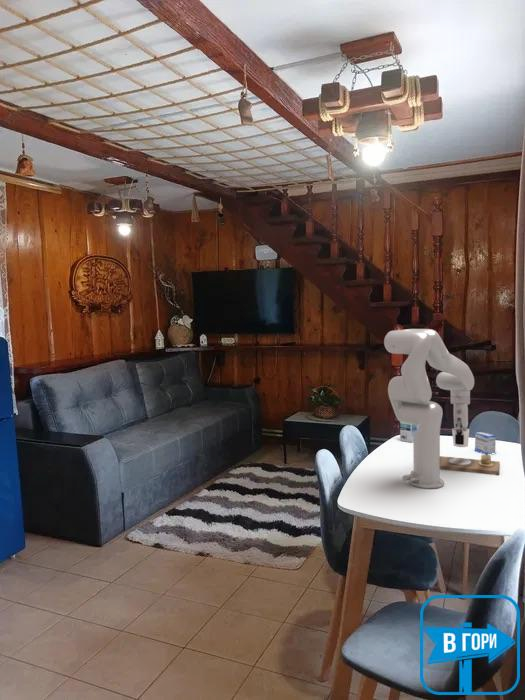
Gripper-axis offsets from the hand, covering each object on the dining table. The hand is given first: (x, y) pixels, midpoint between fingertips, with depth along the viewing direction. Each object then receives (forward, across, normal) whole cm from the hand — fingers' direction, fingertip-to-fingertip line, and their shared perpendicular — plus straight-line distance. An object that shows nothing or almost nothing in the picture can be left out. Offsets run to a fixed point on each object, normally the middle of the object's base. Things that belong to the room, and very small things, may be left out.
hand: (460, 441), depth 219 cm
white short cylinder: (+2, 0, 0) cm, 2 cm away
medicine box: (+11, +25, -8) cm, 29 cm away
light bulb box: (+11, +37, +26) cm, 47 cm away
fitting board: (+10, 0, -3) cm, 11 cm away
